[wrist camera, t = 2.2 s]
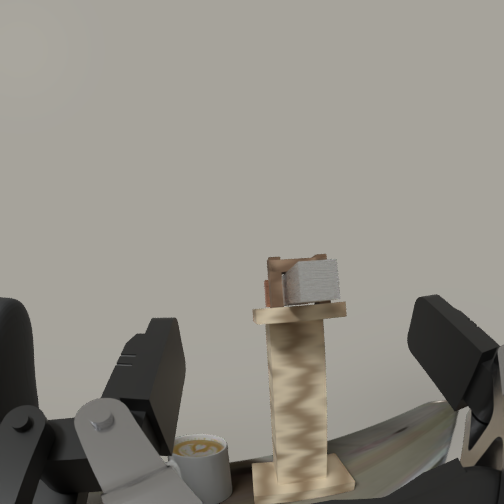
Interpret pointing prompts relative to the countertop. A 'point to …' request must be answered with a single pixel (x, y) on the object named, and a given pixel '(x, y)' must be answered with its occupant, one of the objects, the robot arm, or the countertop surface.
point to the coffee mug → (203, 466)
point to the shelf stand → (297, 398)
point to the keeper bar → (309, 283)
